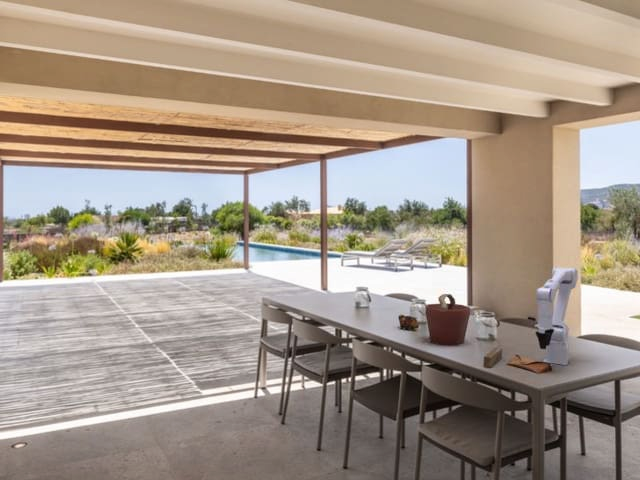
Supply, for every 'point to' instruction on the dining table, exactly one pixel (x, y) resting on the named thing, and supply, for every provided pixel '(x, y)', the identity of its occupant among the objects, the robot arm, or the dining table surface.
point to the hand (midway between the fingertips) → (544, 347)
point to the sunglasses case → (529, 364)
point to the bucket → (447, 321)
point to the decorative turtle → (407, 322)
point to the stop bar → (492, 357)
